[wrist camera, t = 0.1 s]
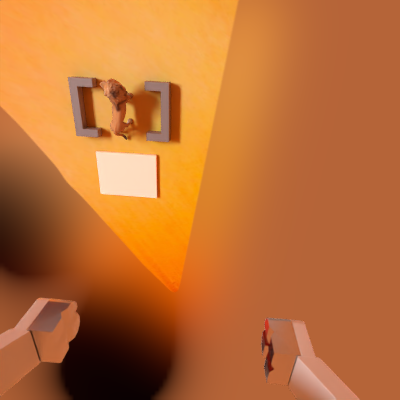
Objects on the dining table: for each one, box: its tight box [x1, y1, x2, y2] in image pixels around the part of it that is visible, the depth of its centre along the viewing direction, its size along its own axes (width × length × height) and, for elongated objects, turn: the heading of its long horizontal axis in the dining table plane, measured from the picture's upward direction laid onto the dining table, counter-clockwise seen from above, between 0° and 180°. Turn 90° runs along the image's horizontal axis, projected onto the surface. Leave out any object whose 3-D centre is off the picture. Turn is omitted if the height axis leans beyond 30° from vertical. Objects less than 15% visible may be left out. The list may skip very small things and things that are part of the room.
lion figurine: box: [100, 78, 133, 140], centre depth 53 cm, size 12×4×7 cm, turn 0°
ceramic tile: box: [96, 151, 157, 198], centre depth 62 cm, size 10×13×1 cm
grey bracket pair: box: [68, 77, 170, 142], centre depth 55 cm, size 11×19×2 cm, turn 87°
